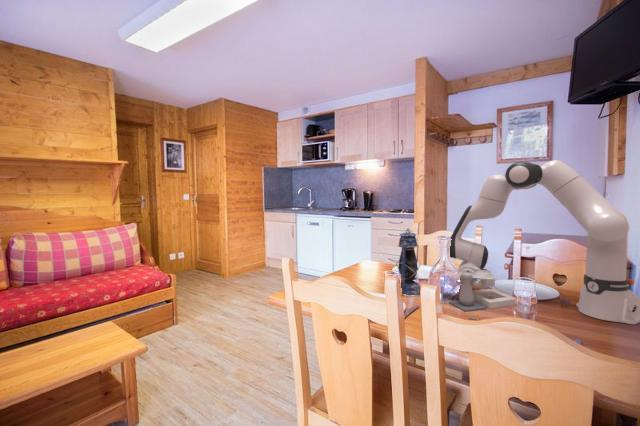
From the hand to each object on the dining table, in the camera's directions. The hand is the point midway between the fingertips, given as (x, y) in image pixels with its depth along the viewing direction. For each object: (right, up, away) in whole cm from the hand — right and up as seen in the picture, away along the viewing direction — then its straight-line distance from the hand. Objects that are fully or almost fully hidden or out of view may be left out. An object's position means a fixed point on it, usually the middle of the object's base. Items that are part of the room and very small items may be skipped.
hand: (467, 283), depth 125 cm
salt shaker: (+1, -9, +2) cm, 9 cm away
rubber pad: (+1, -9, +1) cm, 10 cm away
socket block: (+13, -9, +7) cm, 17 cm away
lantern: (-18, -9, +20) cm, 29 cm away
